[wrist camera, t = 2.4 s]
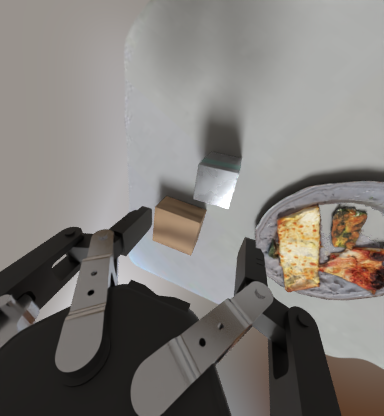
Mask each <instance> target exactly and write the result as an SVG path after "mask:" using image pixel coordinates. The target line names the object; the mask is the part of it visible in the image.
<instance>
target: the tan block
mask: <svg viewBox="0 0 384 416" xmlns="http://www.w3.org/2000/svg"><path fill="white" fill-rule="evenodd" d="M205 214H206V210H205V209H202V208H199V207H196V206H194V205H191V204H188V203H185V202H182V201H179V200H176V199H174V198H171V197H168V196H166V197H165V198H164V199H163V200H162V201H161V202H160V203H159V204H158V205H157V206H156V207H155V216H154V229H153V241H156V242H158V243H161V244H163V245H166V246H168V247H171V248H173V249H176V250H178V251H181V252H183V253H186V254H188V255H191V254H192V252H193V249H194V247H195V245H196V242H197V240H198V236H199V233H200V230H201V227H202V223H203V220H204V217H205Z"/></svg>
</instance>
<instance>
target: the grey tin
mask: <svg viewBox="0 0 384 416" xmlns="http://www.w3.org/2000/svg"><path fill="white" fill-rule="evenodd" d="M241 160H242V158H239V157H234V156H229V155H225V154H220V153H215V152H211V153H210V154H209V155H208V156H207V157H206V158H204V159H203V160H202V161H201V162H200V163H199V165H198V171H197V178H196V184H195V190H194V197H193V199H195V200H198V201H202V202H205V203H209V204H213V205H216V206H220V207H223V208H227V209H228V207H229V204H230V201H231V198H232V195H233V191H234V188H235V185H236V182H237V178H238V175H239V171H240V167H241Z"/></svg>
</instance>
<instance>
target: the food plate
mask: <svg viewBox="0 0 384 416" xmlns="http://www.w3.org/2000/svg"><path fill="white" fill-rule="evenodd" d="M335 203H337V204H338V203H356V204H363V205H365V206H366V207H368V206H371V207H372V209H374V210H378V211H380V212H382V216H384V182H376V181H372V182H371V181H353V182H352V181H351V182H344V183H342V182H340V183H331V184H324V185H315V186H310V187H307V188H304V189H302V190H301V191H298V192H296V193H295V194H292V195H290V196H288V197H287V198H284V199H283V200H281V201H279V202H278V203H277V204H275V205H273V206H272V207H271V208H270V209H269V210H268V211H267V212H266V213H265V214H264V216H263V217H262V218H261V220H260V222H259V224H258V225H257V226H256V230H255V231H256V233H255V235H256V236H255V239H256V248H259V249H261V250H262V252H263V254H264V258H265V267H266V275H267V276H268V277H269V278H271V279H273V280H274V281H275V282H277V283H278V284H279V285H280V286H282V287H285V290H286V291H287V292H292V291H295V292H297V293H300V294H303V295H308V296H311V297H312V296H313V297H318V298H321V299H326V300H327V299H328V300H353V299H362V298H370V297H377V296H383V295H384V248H380V244H378V243H380V242H376V241H371V240H370V239H369V238H370V237H368V236H365V235H362V233H361V232H363V231H364V230H361V228H362V226H363V225H364V223H365V222H366V219H367V213H366V212H361V211H356V209H355V208H350V207H349V208H348V207H345V208H344V209H341V208H338V209H336V212H335V215H334V217H332V219H333V220H332V223H333V224H332V230H331V233H329V234H330V235H329V236H328V237H327V238H329V239H327V238H324V237H325V236H324V233H321V231H322V225H321V219H320V217H321V216H320V212H319V207H318V205H324V204H335ZM320 211H321V210H320ZM319 222H320V223H319ZM370 236H372V235H370ZM361 237H362V238H361ZM322 238H324V239H322ZM377 239H378V238H377ZM328 240H330V241H329V242H330V246H326V245H325V243H328ZM375 242H376V243H375ZM331 244H332V245H331ZM373 244H374V245H373ZM325 246H326V248H328V249H325ZM333 249H334V250H333ZM328 256H329V259H328V260H326V261H325V260H324V257H328Z"/></svg>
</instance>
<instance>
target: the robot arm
mask: <svg viewBox="0 0 384 416" xmlns="http://www.w3.org/2000/svg"><path fill="white" fill-rule="evenodd" d="M151 225H152V209H151V208H147V207H144V206H142V207H141V208H139V209H138V210H134V211H132V212H129V213H128V214H127V215H126V216H125V217H123V218H122V219H121V220H120V221H118V222H117V223H116V224H115V225H114V226H112V227H111V228H110V229H109V230H108V229H104V230H100V231H97V232H96V233H94V234H86V233H85V234H84V233H82V230H81V228H79V227H70V228H66V229H64V230H62V231H61V232H59V233H58V234H56V235H55V236H53V237H52V238H50V239H49V240H47V241H46V242H44V243H43V244H41V245H40V246H38V247H37V248H35V249H34V250H32V251H31V252H29V253H28V254H26V255H25V256H23V257H22V258H21V259H19V260H17V261H16V262H14V263H13V264H11V265H10V266H8V267H7V268H5V269H4V270H3V271H1V272H0V416H231V413H230V409H229V407H228V403H227V400H226V397H225V394H224V391H223V388H222V385H221V381H220V378H219V375H218V372H217V369H216V365H217V364H218V363H219V362H220V361H221V360H222V359H223V358H224V357H225V356H226V355H227V354H228V352H229V351H230V350H231V349H232V348H233V347H234V346H235V345H236V343H237V342H238V341H239V340H240V339H241V338H242V337H243V336H244V335H245V334H246V333H247V332H248V331H249V330H250V329H251V328H252V327H255V328H256V329H257V330H258V331H259V332H261V333H262V334H263V335H265V336H266V337H267V338H268V357H269V387H270V389H269V390H270V416H341V412H340V409H339V405H338V402H337V397H336V394H335V390H334V386H333V383H332V379H331V375H330V371H329V367H328V364H327V360H326V357H325V353H324V349H323V345H322V341H321V338H320V334H319V330H318V327H317V324H316V322H315V320H314V319H313V318H312V316H311V315H310V314H309V313H308V312H306V311H305V310H304V309H302V308H300V307H296V306H294V307H291V308H288V307H287V306H285V305H284V304H282V303H281V302H279V301H278V300H276V299H275V298H274V297H273V294H272V292H271V290H270V289H269V288H268V285H267V276H266V267H265V258H264V254H263V252H262V250H261V249H259V248H256V242H255V240H253V239H250V238H246V237H245V238H244V240H243V243H242V245H241V247H240V250H239V252H238V257H237V267H236V279H235V291H234V297H233V298H231V299H226V300H225V301H223V302H222V303H221V304H219V305H218V306H217V307H216V308H214V309H213V310H212V311H210V312H209V313H208V314H207V315H205V316H204V317H203V318H201V319H200V320H199V319H198V317H197V316H196V315H195V314H194V313H193V311H191V310H190V309H189V307H190V303H187V302H185V301H182V300H180V299H177V298H175V297H166V296H158V295H156V294H155V293H154V292H153V291H151V290H150V289H149V288H148V287H146V286H145V285H143V284H140V283H138V282H135V281H133V280H131V281H130V282H129V284H121V285H118V257H119V256H120V255H124V256H127V254H128V253H129V252H130V251H131V250H132V249H133V248H134V246H135V245H136V244H137V243H138V242H139V241H140V240H141V238H142V237H143V236H144V235H145V234H146V233H147V231H148V230H149V229H150V228H151ZM64 254H66V255H67V256H66V257H65V258H64V259H63V260H61V261H60V262H59V263H58V264H57V265H55V266H54V267H53V268H52V266H53V264H54V263H55V262H56V261H57V260H58V259H60V258H61V257H62V256H63V255H64ZM79 270H80V272H79V276H78V280H77V284H76V288H75V292H74V296H73V300H72V304H71V306H70V307H68V308H66V309H64V310H62V311H60V312H57V313H55V314H53V315H51V316H49V317H47V318H45V319H43V320H41V321H39V322H37V323H35V319H36V318H37V316H38V314H39V310H40V309H41V308H42V307H43V306H44V305H45V304H46V303H47V302H48V301H49V300H50V299H51V298H52V297H53V296H54V295H55V294H56V293H57V292H58V291H59V290H60V289H61V288H62V287H63V286H64V285H65V284H66V283H67V282H68V281H69V280H70V279H71V278H72V277H73V276H74V275H75V274H76V273H77V272H78V271H79Z"/></svg>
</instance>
